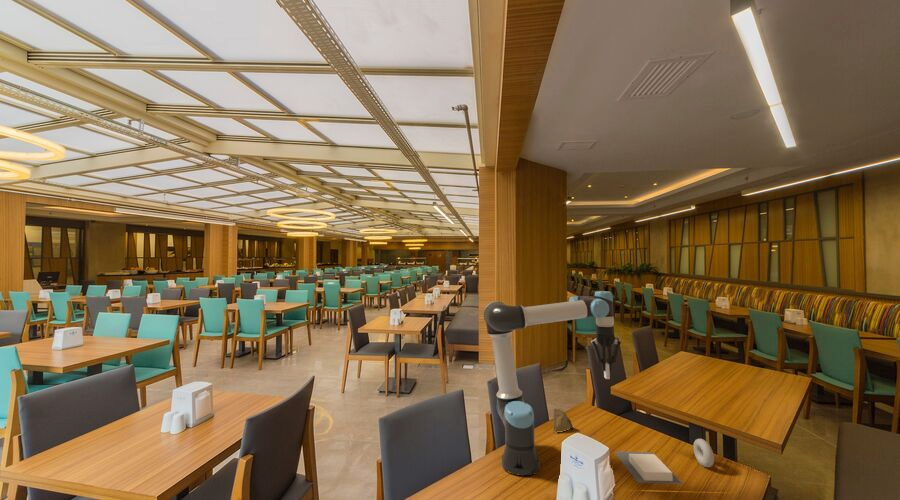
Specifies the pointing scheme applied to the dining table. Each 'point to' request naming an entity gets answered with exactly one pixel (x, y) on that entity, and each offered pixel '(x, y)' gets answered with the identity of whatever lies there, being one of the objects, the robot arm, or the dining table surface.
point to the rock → (561, 421)
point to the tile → (650, 467)
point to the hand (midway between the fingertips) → (606, 378)
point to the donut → (703, 453)
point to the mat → (625, 460)
